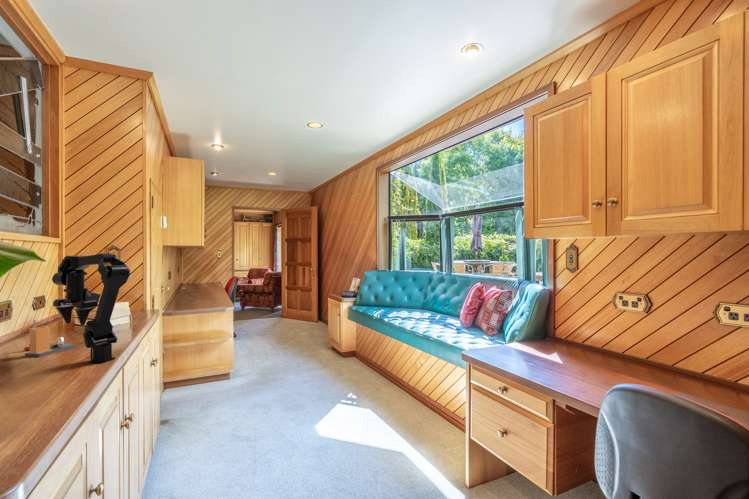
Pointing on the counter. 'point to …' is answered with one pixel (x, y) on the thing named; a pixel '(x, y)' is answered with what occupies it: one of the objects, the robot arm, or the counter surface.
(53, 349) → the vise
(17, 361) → the counter surface
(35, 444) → the counter surface
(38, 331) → the orange sleeve
